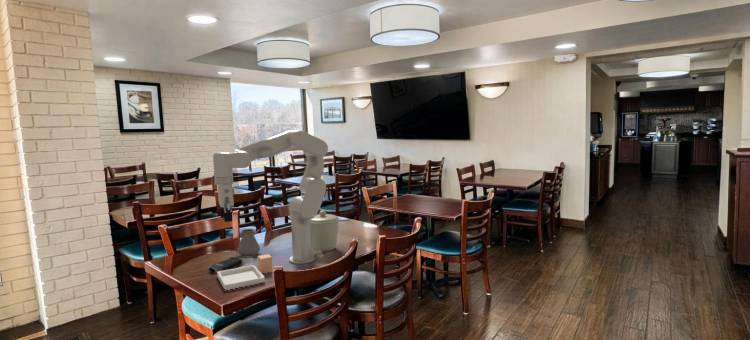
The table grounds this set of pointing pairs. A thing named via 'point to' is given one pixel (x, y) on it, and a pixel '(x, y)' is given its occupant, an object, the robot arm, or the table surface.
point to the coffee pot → (249, 242)
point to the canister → (324, 231)
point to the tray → (240, 277)
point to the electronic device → (226, 264)
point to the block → (265, 263)
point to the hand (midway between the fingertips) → (226, 219)
